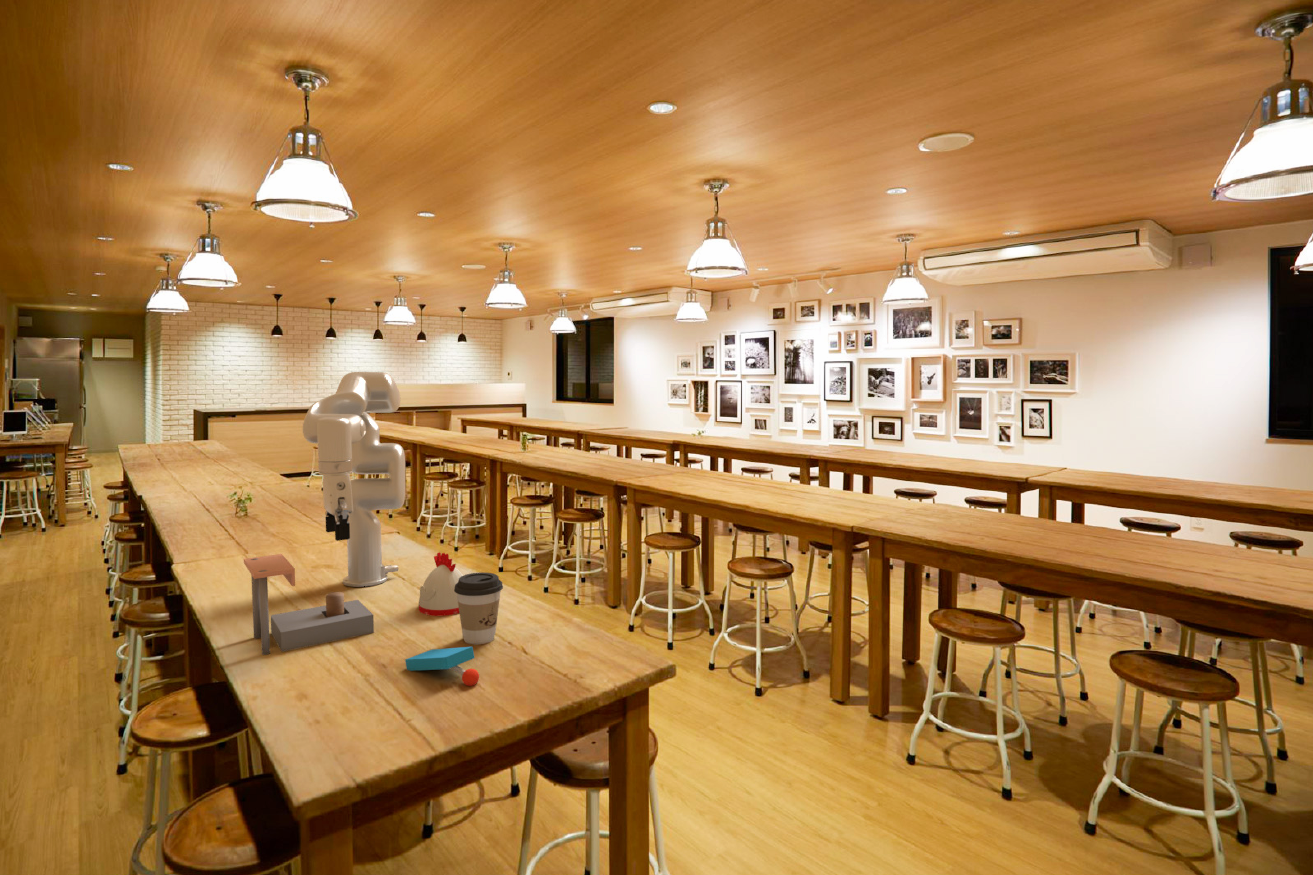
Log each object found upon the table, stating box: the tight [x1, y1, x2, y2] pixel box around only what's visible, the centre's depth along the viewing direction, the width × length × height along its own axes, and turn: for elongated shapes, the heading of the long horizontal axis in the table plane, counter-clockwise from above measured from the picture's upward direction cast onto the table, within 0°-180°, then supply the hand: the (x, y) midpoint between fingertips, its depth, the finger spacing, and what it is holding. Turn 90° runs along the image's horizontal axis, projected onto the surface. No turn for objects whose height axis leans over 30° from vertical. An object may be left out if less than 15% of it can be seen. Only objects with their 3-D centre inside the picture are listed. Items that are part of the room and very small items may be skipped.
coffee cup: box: [454, 571, 504, 646], centre depth 163 cm, size 11×11×15 cm
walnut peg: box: [325, 591, 345, 618], centre depth 167 cm, size 4×4×9 cm
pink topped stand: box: [243, 553, 296, 656], centre depth 158 cm, size 8×16×19 cm, turn 38°
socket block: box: [270, 599, 375, 652], centre depth 166 cm, size 20×14×4 cm
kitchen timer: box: [418, 551, 464, 617], centre depth 185 cm, size 14×14×15 cm
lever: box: [404, 646, 480, 687], centre depth 143 cm, size 7×7×18 cm
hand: (337, 535), depth 169 cm, fingers open, 9 cm apart
